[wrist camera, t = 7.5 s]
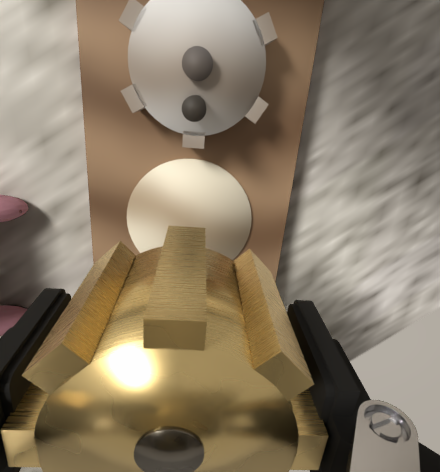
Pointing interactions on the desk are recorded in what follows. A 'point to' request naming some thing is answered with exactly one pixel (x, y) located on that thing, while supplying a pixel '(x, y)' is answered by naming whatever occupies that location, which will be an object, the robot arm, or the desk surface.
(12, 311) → the video game controller
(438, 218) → the desk surface
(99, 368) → the brass gear
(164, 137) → the gear board
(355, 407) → the robot arm
